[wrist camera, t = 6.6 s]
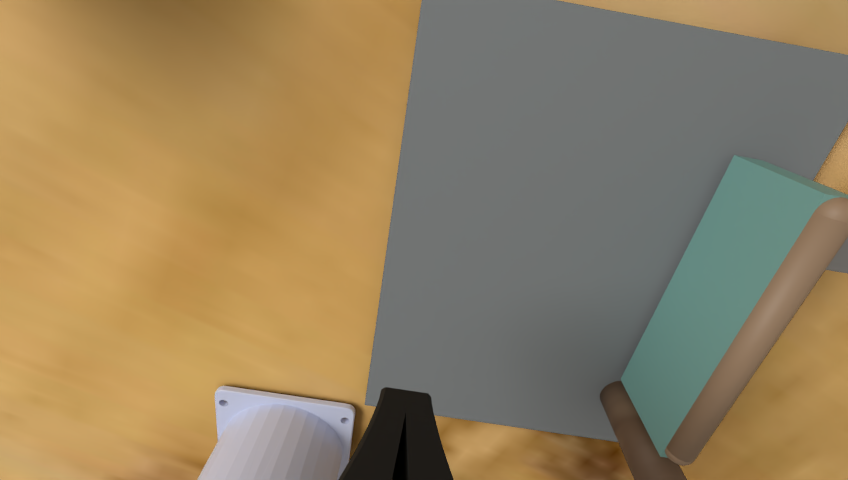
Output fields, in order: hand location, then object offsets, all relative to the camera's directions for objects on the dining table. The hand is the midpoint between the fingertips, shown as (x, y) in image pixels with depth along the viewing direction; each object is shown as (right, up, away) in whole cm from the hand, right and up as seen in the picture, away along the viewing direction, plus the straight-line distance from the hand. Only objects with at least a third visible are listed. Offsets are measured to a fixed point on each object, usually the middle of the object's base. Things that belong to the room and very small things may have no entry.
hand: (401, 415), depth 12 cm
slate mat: (+7, +4, +8) cm, 12 cm away
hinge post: (+11, -3, +11) cm, 16 cm away
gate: (+13, +3, +7) cm, 15 cm away
